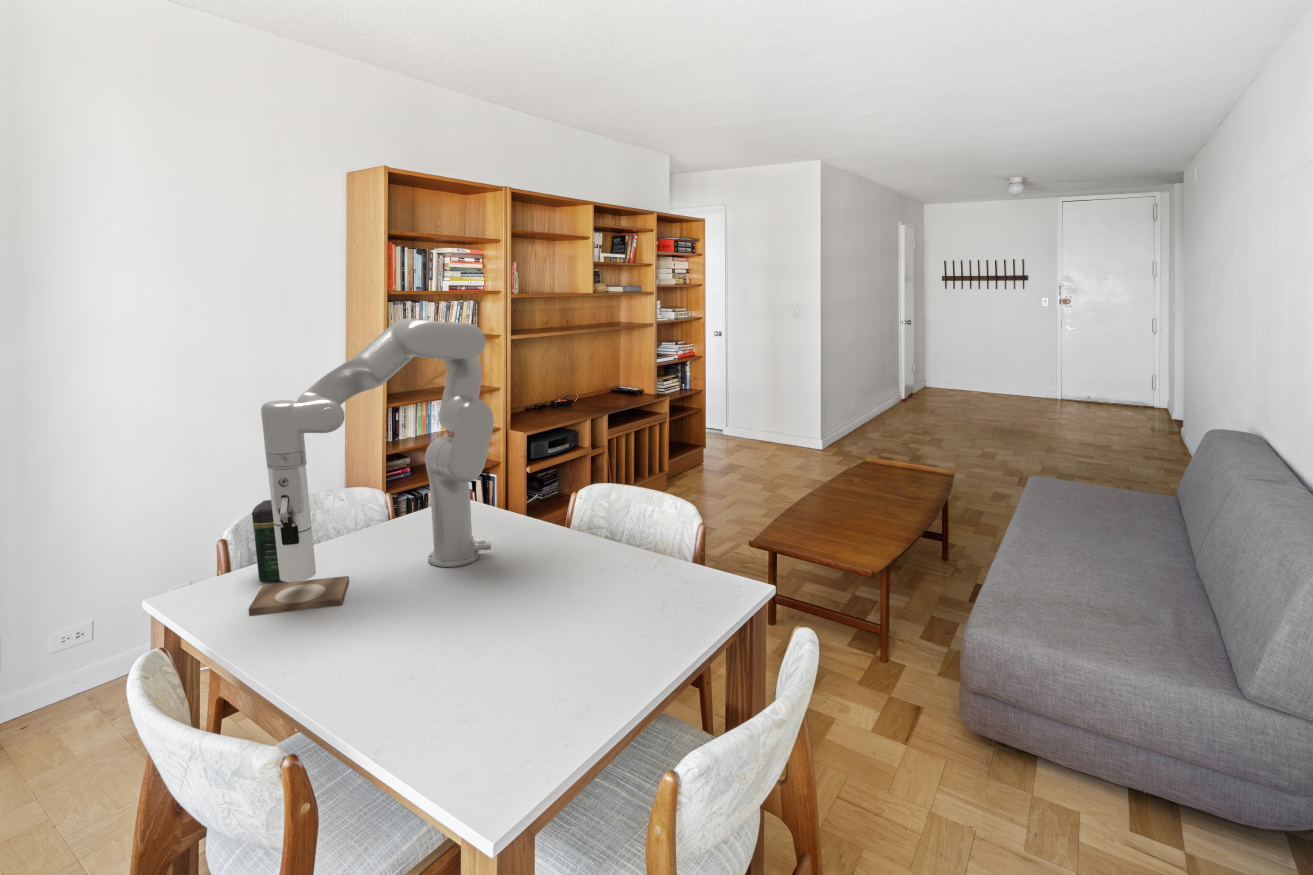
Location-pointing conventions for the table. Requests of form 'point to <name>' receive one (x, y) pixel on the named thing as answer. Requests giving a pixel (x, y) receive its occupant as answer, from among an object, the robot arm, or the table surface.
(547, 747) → the table surface
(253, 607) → the walnut board
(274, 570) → the coffee jar
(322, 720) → the table surface
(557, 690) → the table surface
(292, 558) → the cylindrical container
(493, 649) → the table surface
